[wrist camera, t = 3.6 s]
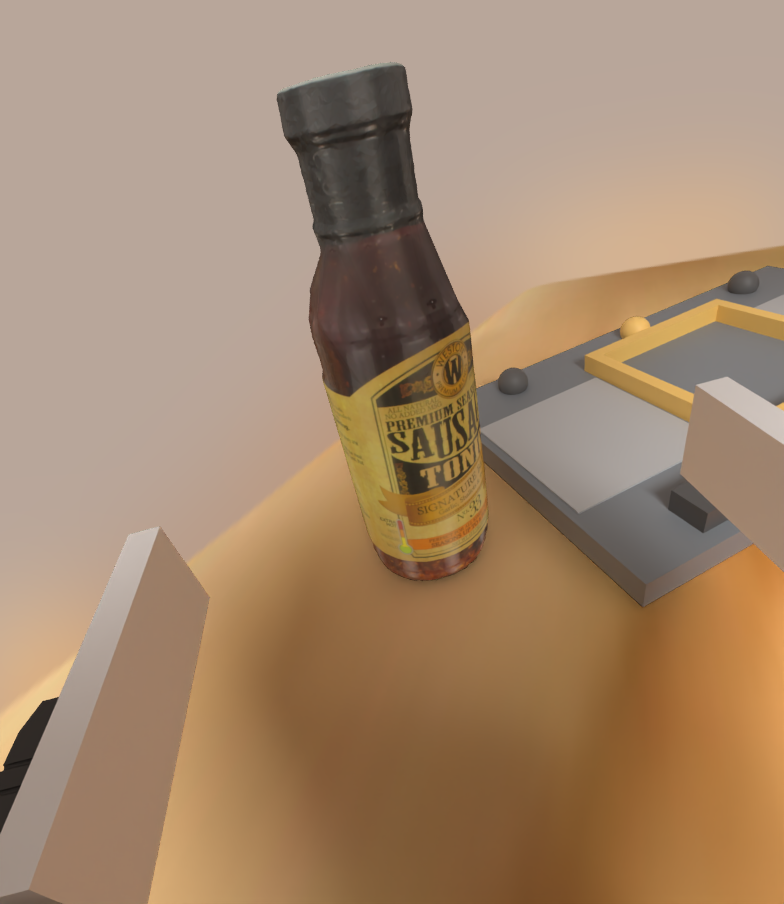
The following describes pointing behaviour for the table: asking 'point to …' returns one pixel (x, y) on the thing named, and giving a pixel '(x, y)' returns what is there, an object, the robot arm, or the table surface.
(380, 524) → the sauce bottle
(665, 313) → the grey fixture plate
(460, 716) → the table surface
